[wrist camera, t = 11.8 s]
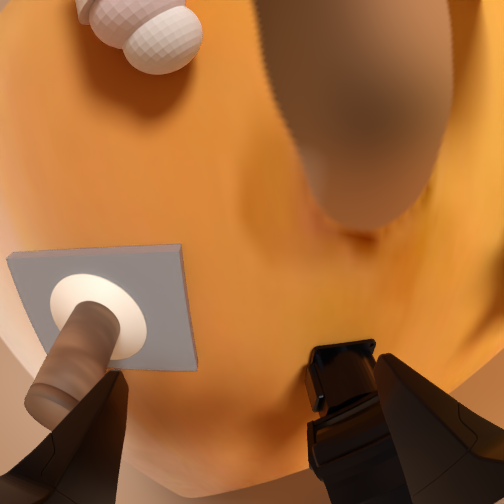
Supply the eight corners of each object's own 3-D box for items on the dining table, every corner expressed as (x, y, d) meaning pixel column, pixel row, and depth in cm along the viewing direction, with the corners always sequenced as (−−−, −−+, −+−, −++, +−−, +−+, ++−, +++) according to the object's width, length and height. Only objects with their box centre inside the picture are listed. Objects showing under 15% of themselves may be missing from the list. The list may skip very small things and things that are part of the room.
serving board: (181, 243, 21) (178, 253, 20) (198, 361, 26) (197, 373, 25) (12, 252, 20) (4, 260, 18) (54, 353, 25) (49, 363, 24)
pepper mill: (127, 316, 22) (91, 422, 13) (113, 349, 23) (83, 445, 14) (77, 291, 20) (21, 386, 11) (69, 327, 22) (25, 417, 13)
